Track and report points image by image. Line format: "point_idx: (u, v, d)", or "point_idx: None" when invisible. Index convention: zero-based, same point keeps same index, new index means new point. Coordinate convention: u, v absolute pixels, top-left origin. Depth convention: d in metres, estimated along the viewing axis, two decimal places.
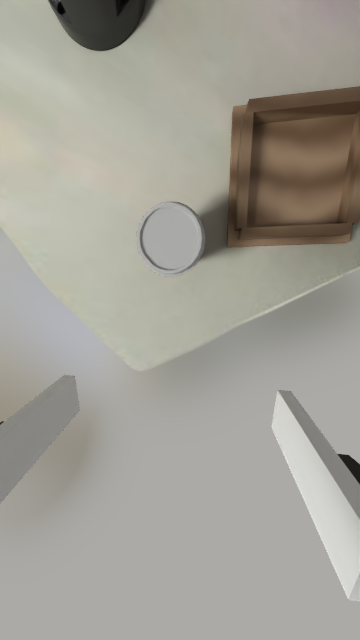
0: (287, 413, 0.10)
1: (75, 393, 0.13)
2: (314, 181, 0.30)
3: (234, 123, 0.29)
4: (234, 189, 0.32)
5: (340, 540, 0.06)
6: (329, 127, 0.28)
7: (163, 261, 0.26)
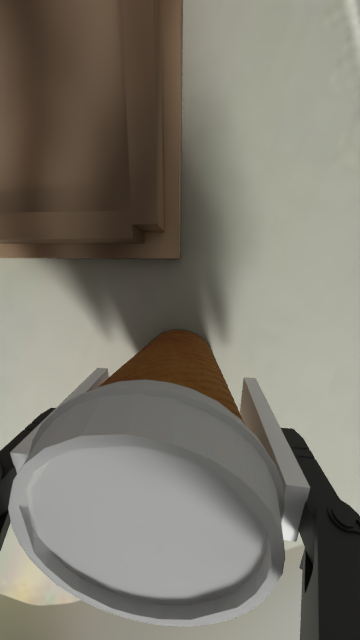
0: (248, 396, 0.11)
1: None
2: (25, 25, 0.11)
3: None
4: (63, 248, 0.14)
5: None
6: None
7: (223, 563, 0.06)
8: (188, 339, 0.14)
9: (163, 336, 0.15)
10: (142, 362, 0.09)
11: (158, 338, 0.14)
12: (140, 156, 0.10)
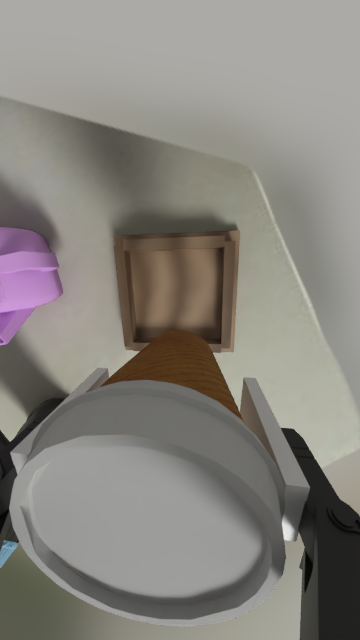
0: (248, 396, 0.11)
1: None
2: (180, 278, 0.31)
3: None
4: None
5: None
6: (139, 272, 0.32)
7: (224, 563, 0.06)
8: (188, 339, 0.14)
9: (163, 336, 0.15)
10: (143, 363, 0.09)
11: (158, 338, 0.14)
12: (225, 329, 0.30)
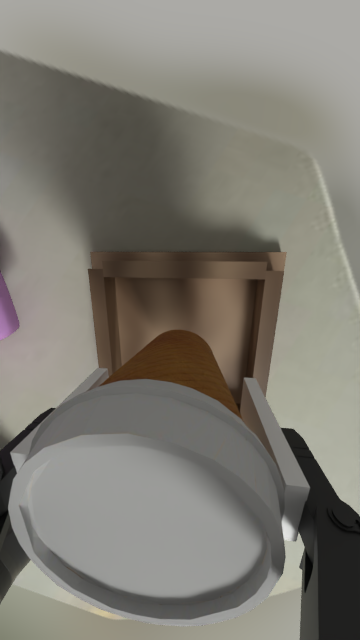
0: (248, 396, 0.11)
1: None
2: (189, 317, 0.21)
3: None
4: None
5: None
6: (128, 306, 0.21)
7: (223, 563, 0.06)
8: (188, 339, 0.14)
9: (163, 336, 0.15)
10: (143, 362, 0.09)
11: (158, 338, 0.14)
12: None
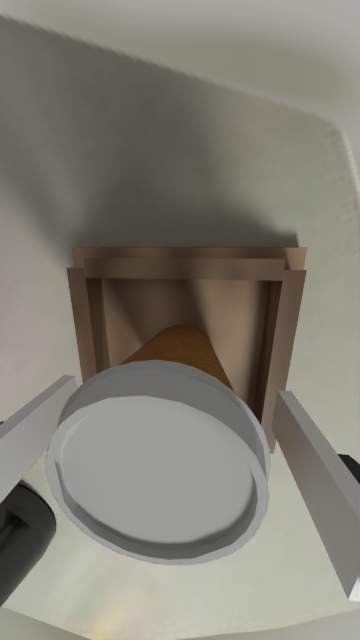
0: (287, 413, 0.10)
1: None
2: (189, 325, 0.18)
3: None
4: None
5: (340, 540, 0.06)
6: (117, 311, 0.18)
7: (220, 508, 0.07)
8: (190, 332, 0.15)
9: (167, 330, 0.16)
10: (151, 350, 0.10)
11: (162, 332, 0.16)
12: (269, 423, 0.17)
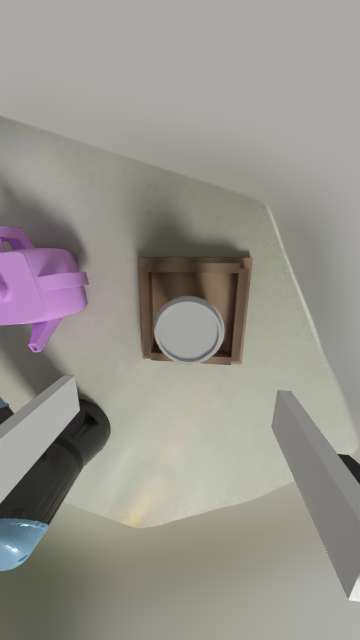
0: (287, 413, 0.10)
1: (75, 393, 0.13)
2: (196, 296, 0.35)
3: None
4: None
5: (340, 540, 0.06)
6: (159, 290, 0.35)
7: (208, 341, 0.25)
8: None
9: None
10: None
11: None
12: (236, 344, 0.34)
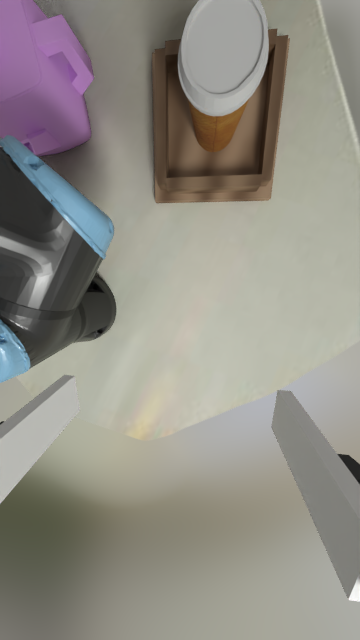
0: (287, 413, 0.10)
1: (75, 393, 0.13)
2: None
3: (166, 198, 0.34)
4: (217, 194, 0.33)
5: (340, 540, 0.06)
6: (176, 99, 0.30)
7: (249, 58, 0.19)
8: None
9: None
10: None
11: None
12: (268, 154, 0.29)
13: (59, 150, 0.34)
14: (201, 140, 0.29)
